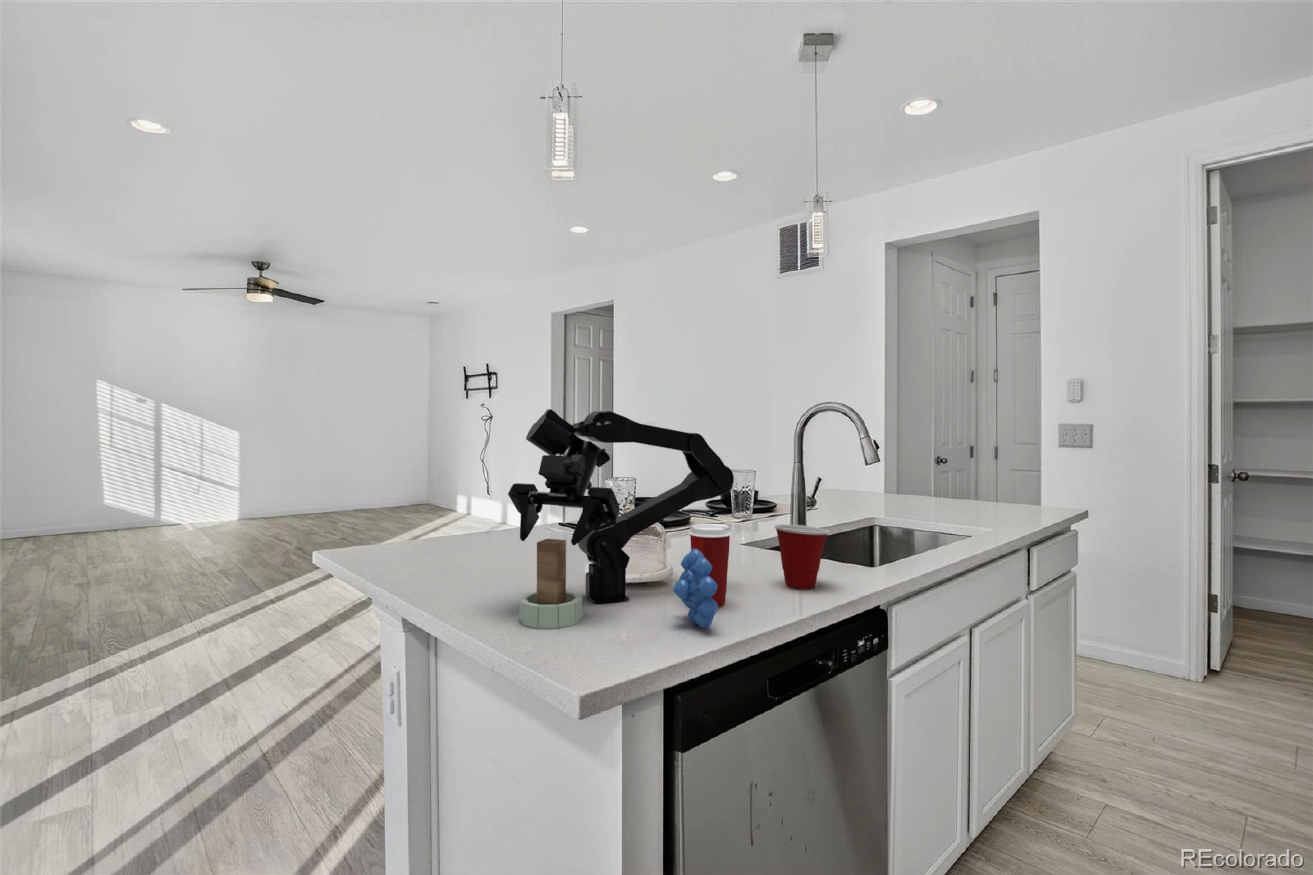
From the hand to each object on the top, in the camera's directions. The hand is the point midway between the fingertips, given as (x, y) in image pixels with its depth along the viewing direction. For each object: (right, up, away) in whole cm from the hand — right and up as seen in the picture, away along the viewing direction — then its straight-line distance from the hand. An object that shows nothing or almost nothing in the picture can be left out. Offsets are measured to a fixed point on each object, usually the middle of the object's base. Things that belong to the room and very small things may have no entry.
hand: (546, 541), depth 106 cm
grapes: (+24, -13, -1) cm, 27 cm away
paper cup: (+27, -13, +11) cm, 32 cm away
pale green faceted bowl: (0, -13, +2) cm, 13 cm away
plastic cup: (+47, -13, +25) cm, 54 cm away
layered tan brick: (0, -12, +2) cm, 12 cm away
